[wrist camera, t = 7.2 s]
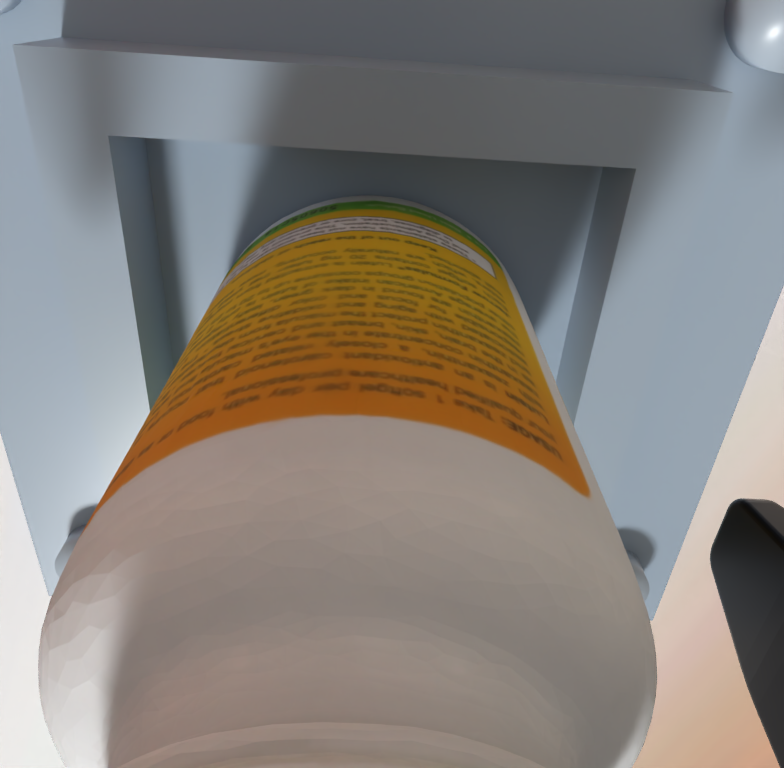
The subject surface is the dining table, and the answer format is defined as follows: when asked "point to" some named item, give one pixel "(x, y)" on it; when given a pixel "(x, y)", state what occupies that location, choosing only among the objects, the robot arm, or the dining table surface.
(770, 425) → the dining table surface
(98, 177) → the base plate
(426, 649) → the supplement bottle
